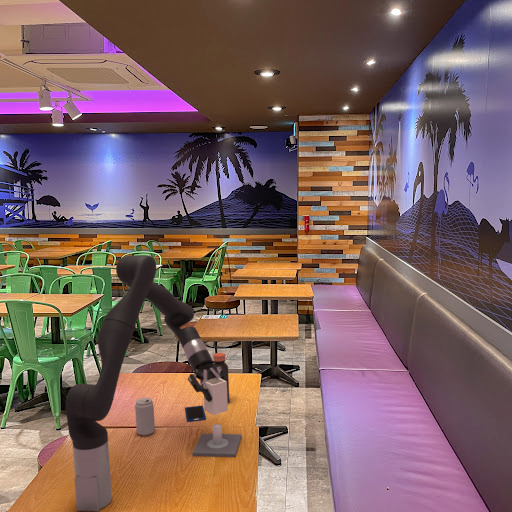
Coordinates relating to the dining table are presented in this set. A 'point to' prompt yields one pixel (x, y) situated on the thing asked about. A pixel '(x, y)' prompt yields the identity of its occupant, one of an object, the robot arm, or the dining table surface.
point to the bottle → (218, 362)
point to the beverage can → (144, 416)
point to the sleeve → (216, 396)
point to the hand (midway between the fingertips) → (218, 398)
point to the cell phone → (195, 413)
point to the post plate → (220, 451)
